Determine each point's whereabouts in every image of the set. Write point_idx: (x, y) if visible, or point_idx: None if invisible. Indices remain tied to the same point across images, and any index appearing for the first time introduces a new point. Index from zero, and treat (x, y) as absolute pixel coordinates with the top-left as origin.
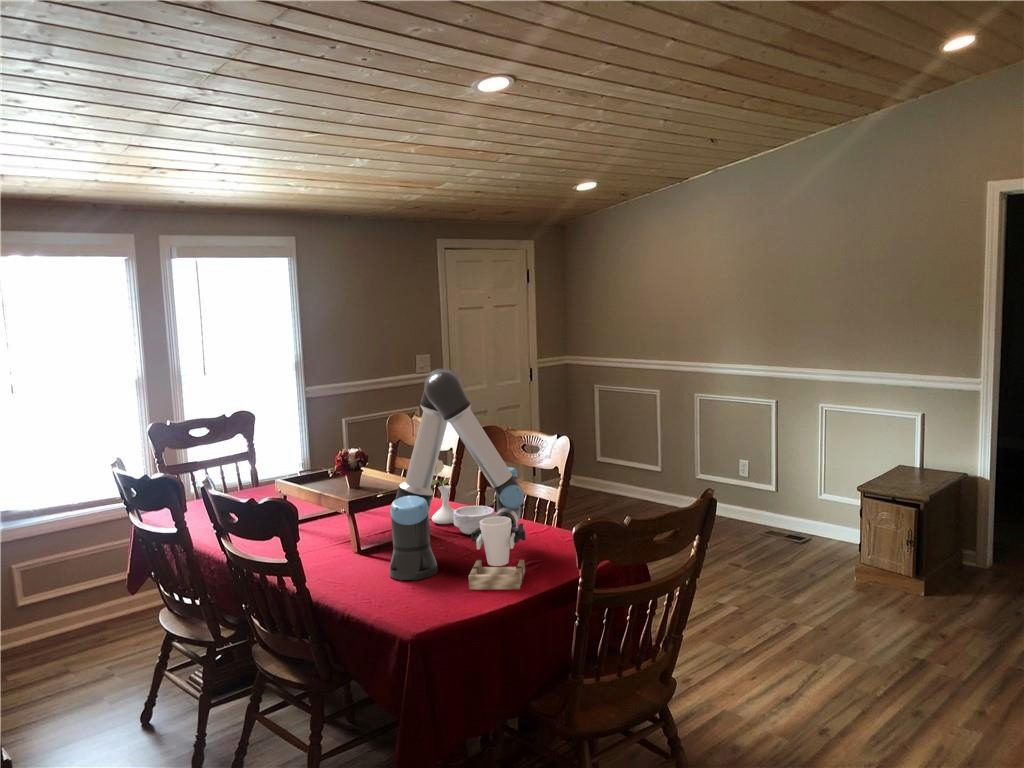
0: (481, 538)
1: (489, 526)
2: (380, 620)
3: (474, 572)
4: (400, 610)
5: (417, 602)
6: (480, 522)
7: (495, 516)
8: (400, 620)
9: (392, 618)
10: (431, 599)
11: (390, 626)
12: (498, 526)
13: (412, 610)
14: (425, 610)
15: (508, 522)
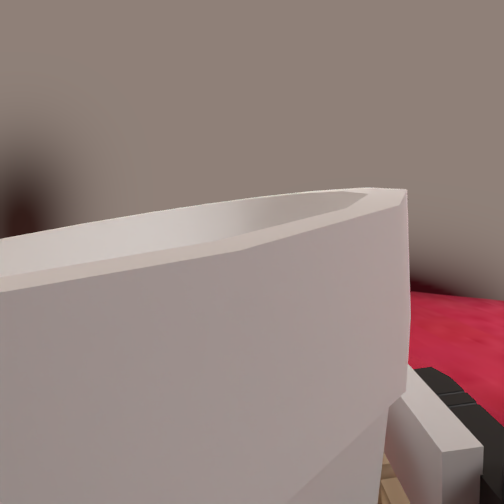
0: (393, 415)
1: (228, 212)
2: (463, 299)
3: (394, 498)
4: (474, 328)
5: (484, 363)
6: (339, 189)
7: (79, 275)
8: (421, 306)
9: (447, 307)
10: (462, 385)
11: (417, 293)
12: (155, 225)
13: (443, 333)
14: (409, 338)
15: (31, 237)
